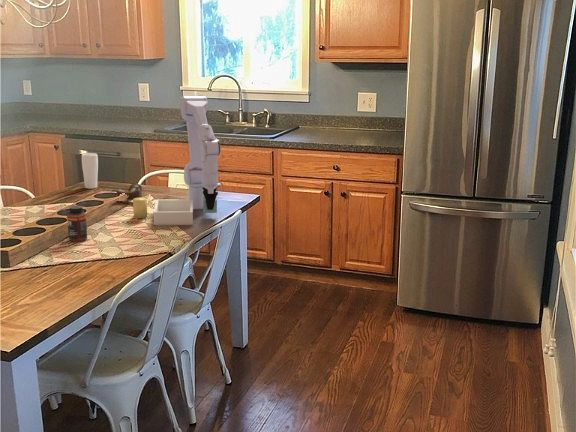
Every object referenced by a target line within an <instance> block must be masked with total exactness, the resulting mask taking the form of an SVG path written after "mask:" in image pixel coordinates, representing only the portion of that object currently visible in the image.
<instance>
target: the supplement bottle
mask: <svg viewBox="0 0 576 432" xmlns="http://www.w3.org/2000/svg"><path fill="white" fill-rule="evenodd" d="M66 220H67V233H68V240H69V241H70V242H74V243H75V242H77V243H78V242H83V241H86V240H87V239H88V230H87V228H88V227H87V216H86V213H85V212H84V211H83V206H82V205H72V206H69V213H67V214H66Z"/></svg>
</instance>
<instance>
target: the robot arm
mask: <svg viewBox="0 0 576 432" xmlns="http://www.w3.org/2000/svg"><path fill="white" fill-rule="evenodd" d="M179 105H180V106H179V107H180V116H181V119H183V120H185V122H186V123H185V124H186V129H187V130H186V131H187V139H188V140H187V141H188V142H187V143H188V149H189V151H188V152H189V162H188V163H186V165H185V166H184V168H183V180H184V184H185V185H186V186H187V187H188V188H187V190H188V193H187V194H188V196H187V200H193V210H203V197H205V199H206V205H207V209H208V210H213V208H214V203H215V199H216V197H217V196H218V195H219V191H217V190H218V187H221V186H222V183H220V182H219V156H220V155H221V149H222V147H221V143H220V142H221V141H220V139H218V138H217V137H215V133H214V130H213V128H212V126H211V125H210V124H208V119H207V112H208V108H209V101H208V98H207V97H206V96H205V95H203V96H185V95H184V96H181V98H180V104H179Z"/></svg>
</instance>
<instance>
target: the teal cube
mask: <svg viewBox="0 0 576 432" xmlns="http://www.w3.org/2000/svg"><path fill="white" fill-rule="evenodd" d="M202 210H203V214H217V212H218V199H217V196H216V199H215V203H214V208H213V210H208V209H207V205H206V199H205V197H203V209H202Z"/></svg>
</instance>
